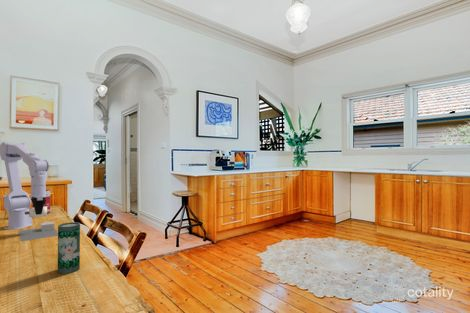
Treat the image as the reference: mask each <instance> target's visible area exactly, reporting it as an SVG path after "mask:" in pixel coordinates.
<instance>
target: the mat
mask: <svg viewBox="0 0 470 313" xmlns="http://www.w3.org/2000/svg"><path fill="white" fill-rule="evenodd" d="M18 235H19V239H20V240H19V241H20V242H26V241H31V240H39V239H44V238H45V239H46V238H51V237H58V230H56V228H55V227H54V230H48V231H41V227H39V228H38V227H37V228H31V229H24V230H19V231H18Z"/></svg>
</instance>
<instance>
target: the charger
mask: <svg viewBox="0 0 470 313" xmlns="http://www.w3.org/2000/svg"><path fill="white" fill-rule="evenodd" d="M40 228H41V231H48V230H54V228H55V222H54V221H47V222H41V223H40Z"/></svg>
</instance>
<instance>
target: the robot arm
mask: <svg viewBox="0 0 470 313" xmlns="http://www.w3.org/2000/svg"><path fill="white" fill-rule="evenodd" d="M0 159H1V161H4V164H5V171H6V177H7V182H8V188H9V192H8V194H6V195H5V196H4V197H3V208H4V210H6V212H8V214H7V215H8V223H7V224H8V226H7V227H3V229H4V230H21V229H25V228H27V227H29V226H33V225H34V224H33V223H32V222H33V220H32V218H33V217H29V214H27V215H25V212H27V211H29V208H31V205H32V207H33V206H34V208H35V213H36V215H38V214H42V210H43V206H44V204H45V202H46V199H45V197H44V196H46V195H49V194H46V190H47V186H46V185H47V183H46V182H47V179H46V178H47V172H48V171H49V168H50V166H49V162H48V161H47V159H41V158H40V157H39V156H37V155H36V153H35V152H30V151H29V150H28V147H27V144H26V143H25V142H5V141H2V142H1V143H0ZM20 160H22V161H23V163H25V164H26V165H27V167H28V171H29V176H30V195H29V193H28V192H27V191H25V190H23V188H22V187H23V186H22V182H21V176H20V172H19V165H18V162H19V161H20ZM32 197H35V198H32Z"/></svg>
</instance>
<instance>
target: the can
mask: <svg viewBox="0 0 470 313" xmlns="http://www.w3.org/2000/svg"><path fill="white" fill-rule="evenodd" d="M57 233H58V236H57V273H58V274H59V275H68V274H72V273H75V272H78V270H81V269H80V267H81V264H80V262H81V259H80V258H81V223H80V222H74V221H73V222H65V223H60V224H58V225H57ZM61 273H62V274H61Z"/></svg>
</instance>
